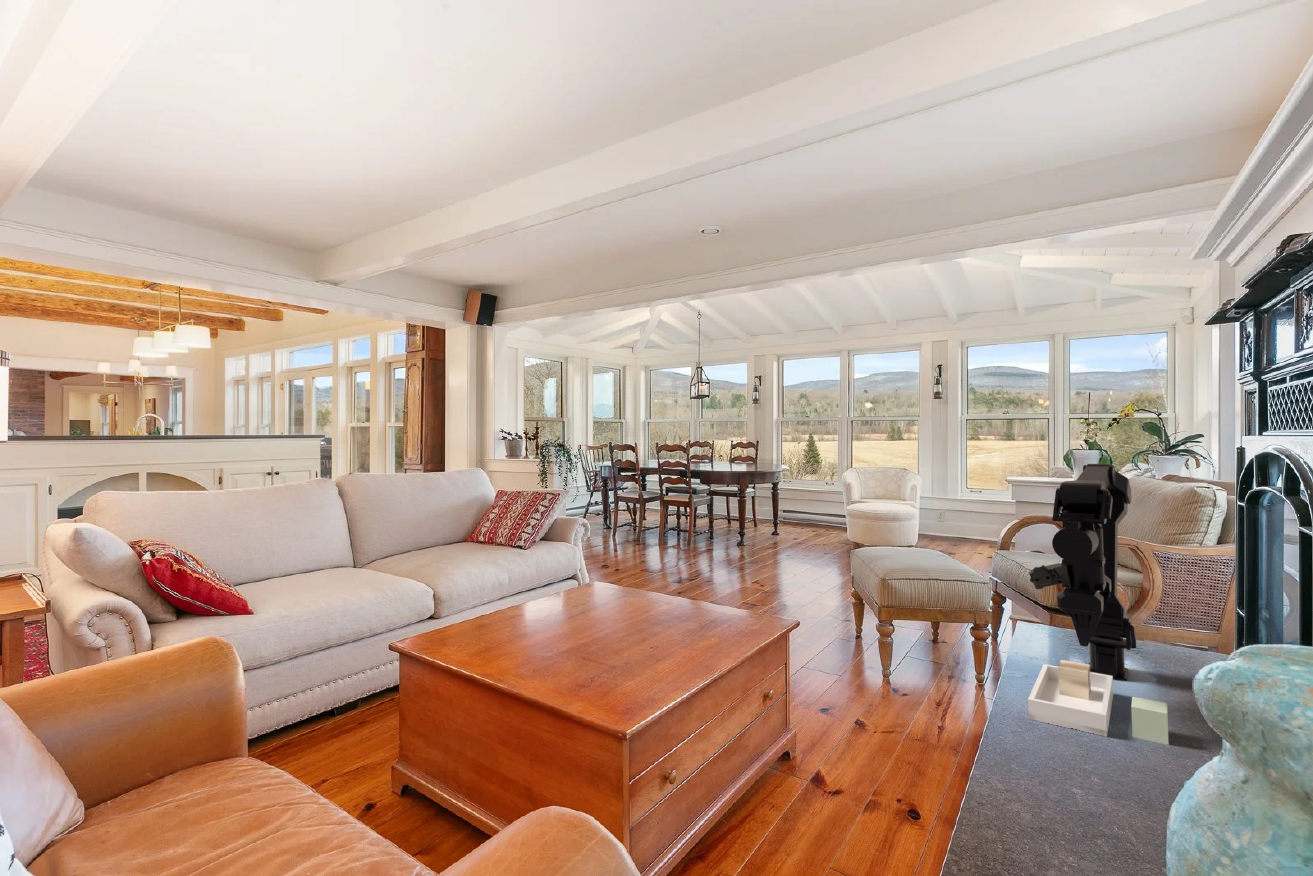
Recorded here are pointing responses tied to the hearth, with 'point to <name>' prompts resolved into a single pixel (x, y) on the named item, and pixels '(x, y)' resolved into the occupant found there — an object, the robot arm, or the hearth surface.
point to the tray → (1071, 703)
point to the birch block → (1074, 679)
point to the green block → (1149, 720)
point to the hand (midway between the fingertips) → (1087, 638)
